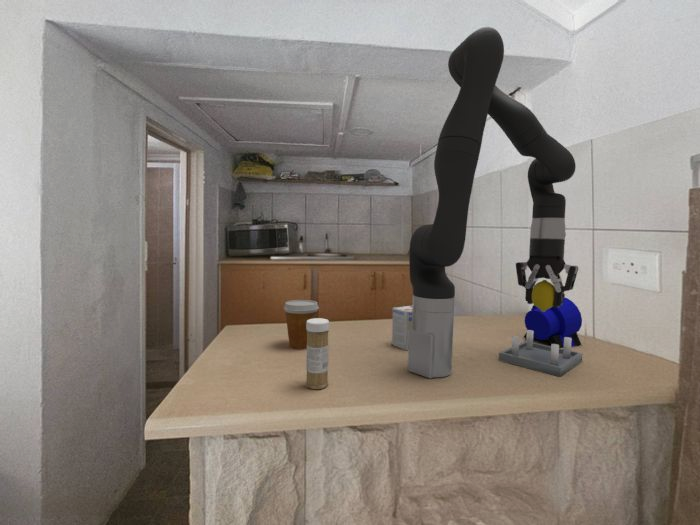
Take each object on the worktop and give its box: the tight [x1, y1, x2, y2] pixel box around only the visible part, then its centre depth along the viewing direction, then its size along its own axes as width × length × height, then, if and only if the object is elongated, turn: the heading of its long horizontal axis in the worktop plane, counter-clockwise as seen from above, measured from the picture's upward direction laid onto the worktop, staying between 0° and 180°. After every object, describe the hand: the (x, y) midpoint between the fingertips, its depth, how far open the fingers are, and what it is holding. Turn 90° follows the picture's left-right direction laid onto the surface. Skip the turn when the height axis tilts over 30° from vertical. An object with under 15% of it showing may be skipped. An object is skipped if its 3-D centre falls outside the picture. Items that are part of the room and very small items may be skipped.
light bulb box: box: [391, 305, 412, 351], centre depth 103 cm, size 11×7×11 cm, turn 123°
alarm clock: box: [523, 292, 583, 349], centre depth 109 cm, size 12×12×15 cm
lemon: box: [532, 279, 556, 312], centre depth 90 cm, size 6×6×8 cm
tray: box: [498, 329, 583, 378], centre depth 91 cm, size 16×14×6 cm
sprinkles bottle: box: [305, 317, 330, 390], centre depth 73 cm, size 5×5×13 cm
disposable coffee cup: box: [283, 299, 320, 350], centre depth 100 cm, size 10×10×12 cm
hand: (543, 305), depth 90 cm, fingers closed on lemon, 5 cm apart
